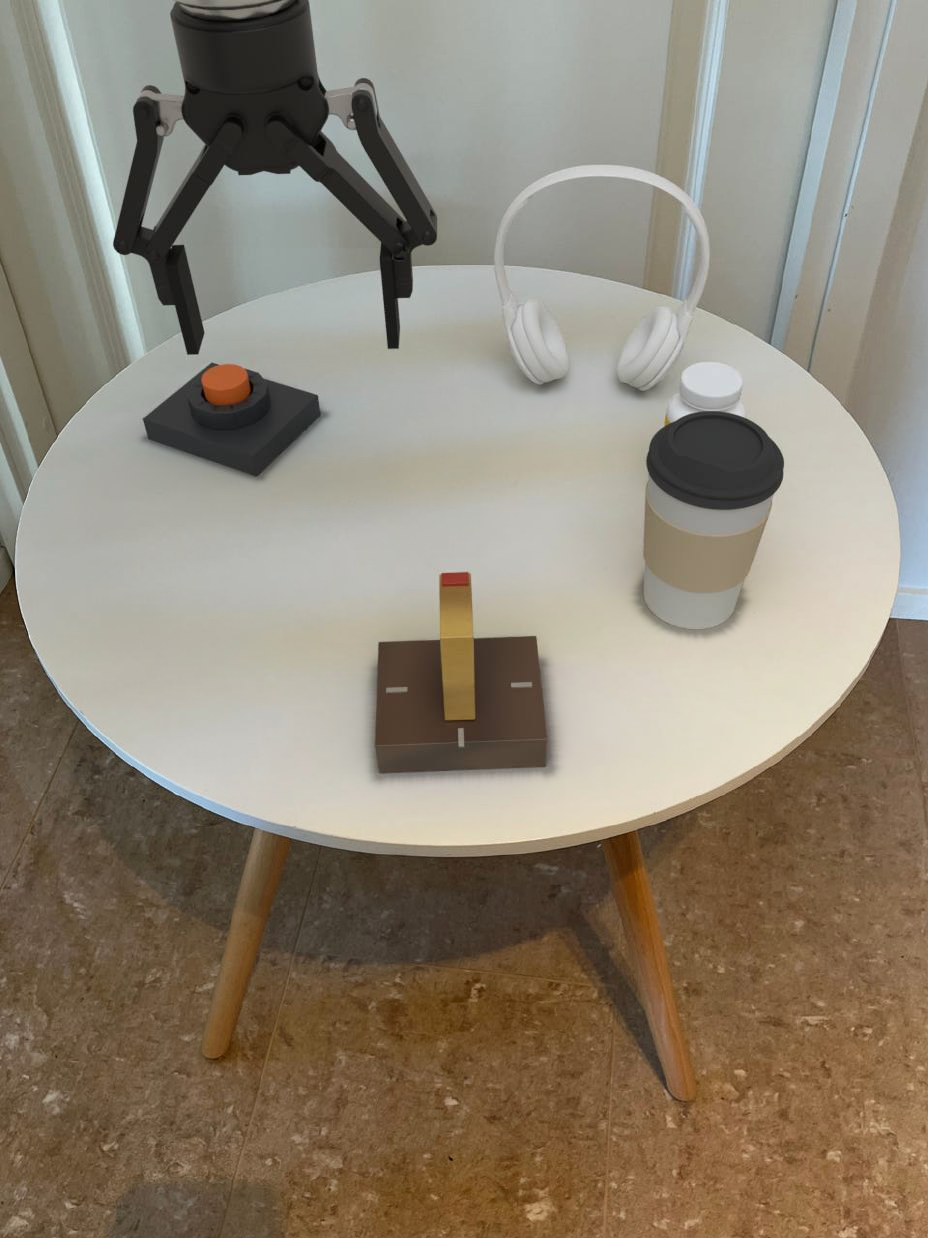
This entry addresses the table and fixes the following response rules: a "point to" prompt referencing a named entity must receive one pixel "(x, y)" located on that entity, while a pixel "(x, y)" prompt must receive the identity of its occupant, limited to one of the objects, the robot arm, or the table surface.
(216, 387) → the button
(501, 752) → the plate
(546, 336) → the headphones
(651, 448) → the coffee cup
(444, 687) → the lock knob
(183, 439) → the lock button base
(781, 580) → the table surface
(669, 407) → the pill bottle
